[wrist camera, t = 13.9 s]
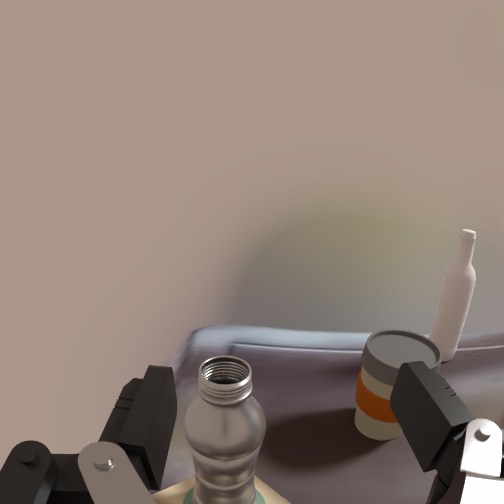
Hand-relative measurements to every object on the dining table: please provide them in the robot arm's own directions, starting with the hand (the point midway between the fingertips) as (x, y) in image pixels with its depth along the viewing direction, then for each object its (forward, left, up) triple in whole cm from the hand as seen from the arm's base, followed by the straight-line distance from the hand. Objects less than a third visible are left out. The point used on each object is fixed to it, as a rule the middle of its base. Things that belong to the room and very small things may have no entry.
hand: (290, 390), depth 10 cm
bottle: (-65, -5, -30) cm, 72 cm away
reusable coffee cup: (-34, -6, -30) cm, 46 cm away
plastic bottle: (-4, -9, -26) cm, 28 cm away
